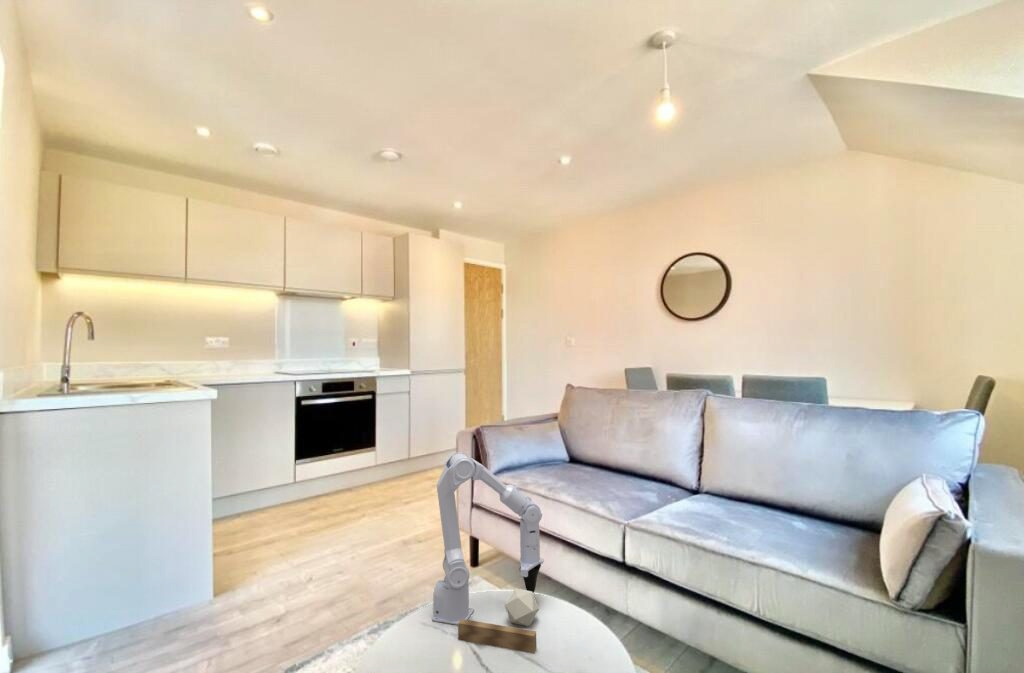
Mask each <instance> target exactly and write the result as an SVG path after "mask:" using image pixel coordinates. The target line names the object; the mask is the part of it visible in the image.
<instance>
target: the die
mask: <svg viewBox="0 0 1024 673" xmlns="http://www.w3.org/2000/svg"><path fill="white" fill-rule="evenodd" d="M504 607H505V609H506V612H507V614H508V618H509V620H510V622H511V624H515V625H520V626H525V627H527V628H528V627H530V625H531V624H532V623H533V620H534V619H535V617H536V616H537V613H538V612H539V610H540V608H539V605H538V603H537V601H536V597H535V595H534V593H533V592H532V591H527V590H526V589H521V588H517V587H515V588H514V590H513V591H512V593H511V594H510V596H509V597H508V599H507V600H506V602H505V604H504Z"/></svg>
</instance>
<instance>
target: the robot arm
mask: <svg viewBox="0 0 1024 673" xmlns="http://www.w3.org/2000/svg"><path fill="white" fill-rule="evenodd" d="M470 479H471V480H472V481H482V482H483V483H484V484H486V486H488V487H490V488H491V489H492V490H493V491H495V492H496V493H497V494H499V501H500V502H501V503H502V504H503V505H505V506H506V507H507V508H508V509H509V510H511V511H512V512H513V513H514V514H516V515H518V517H520V518H519V522H520V523H519V526H520V527H519V533H520V534H519V535H520V536H519V539H520V546H519V547H520V549H519V550H520V551H519V552H520V557H519V563H520V564H519V565H520V567H519V574H520V577H522V578H523V581H524V586H525V590H527V591H532V592H533V594H534V592H535V590H536V586H537V580H538V575H539V572H540V568H541V567H542V565H543V564H544V563H545V559H544V558H541V550H540V549H541V547H540V545H541V544H540V521H541V520H542V518H543V513H542V511H541V509H540V507H539V506H538V505H537V504H536V503H535V502H534V501H533V500H532V497H531V496H529V495H527V496H526V495H525V494H524V493H523V492H522V491H520V489H521V488H520V487H519V486H518V485H513V484H505V483H503V482H502V480H500V478H498V477H497V476H496V475H494V473H492V472H491V471H490V470H489V469H488V468H487V467H486V466H484V465H483V464H482V463H480V462H479V461H477V460H475V459H474V458H472V457H469V456H468V455H467V454H466V453H464V452H461V451H459V452H455V453H453V454H452V455H451V456H450V457H449V458H448V459H447V460H446V461H445V464H444V467H443V469H442V472H441V474H440V477H439V479H438V481H437V484H436V489H437V490H436V491H437V500H438V506H439V516H440V521H441V530H442V539H443V545H444V549H443V551H444V552H443V553H444V556H443V561H442V569H443V571H444V574H445V575H444V577H443V579H440V580H438V581H437V582H436V584H435V586H434V590H433V594H432V595H433V597H432V598H433V602H432V607H433V608H432V610H433V611H432V612H433V613H432V614H433V616H432V618H431V620H432V621H433V622H439V623H444V624H451V625H456V626H458V623H459V621H460V620H461V619H465V620H469V618H470V617H471V615H472V614H473V613H474V611H475V608H471V607H470V605H469V604H470V597H469V594H470V592H469V591H470V589H469V587H470V585H469V582H470V581H469V579H470V570H469V568H468V566H467V565H466V562H465V557H464V553H463V548H462V543H461V542H462V541H461V534H460V533H461V532H460V527H459V526H460V525H459V519H458V511H457V503H456V494H455V492H457V490H458V488H459V487H460V486H461V485H463V484H464V483H465V482H468V481H469V480H470Z"/></svg>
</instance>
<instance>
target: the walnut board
mask: <svg viewBox="0 0 1024 673" xmlns="http://www.w3.org/2000/svg"><path fill="white" fill-rule="evenodd" d="M457 634H458V635H457V636H458V638H457V639H458V640H457V641H464V642H470V643H475V644H480V645H484V646H485V645H486V646H491V647H497V648H500V649H501V648H502V649H508V650H512V651H518V652H524V653H531V654H535V653H536V650H537V631H536V630H530V629H525V628H518V627H511V626H507V625H500V624H494V623H489V622H483V621H477V620H470V619H468V620H465V619H461V620H460V621H459V623H458V625H457Z"/></svg>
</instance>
